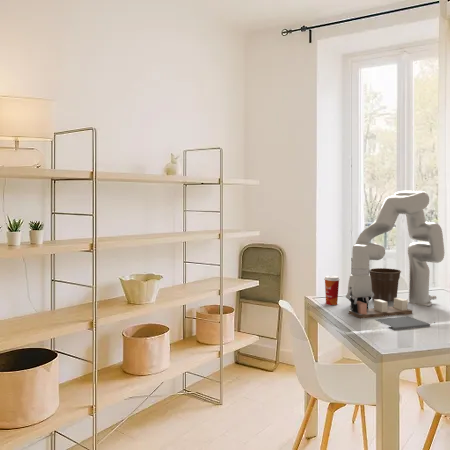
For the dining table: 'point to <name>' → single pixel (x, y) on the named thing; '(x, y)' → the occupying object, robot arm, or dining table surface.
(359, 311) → the salmon pink block
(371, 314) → the brown wooden board
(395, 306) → the cream square block
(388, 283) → the plant pot
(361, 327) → the dining table surface
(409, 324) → the charcoal mat
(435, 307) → the dining table surface
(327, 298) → the paper cup
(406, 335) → the dining table surface
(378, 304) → the cream rectangular block
